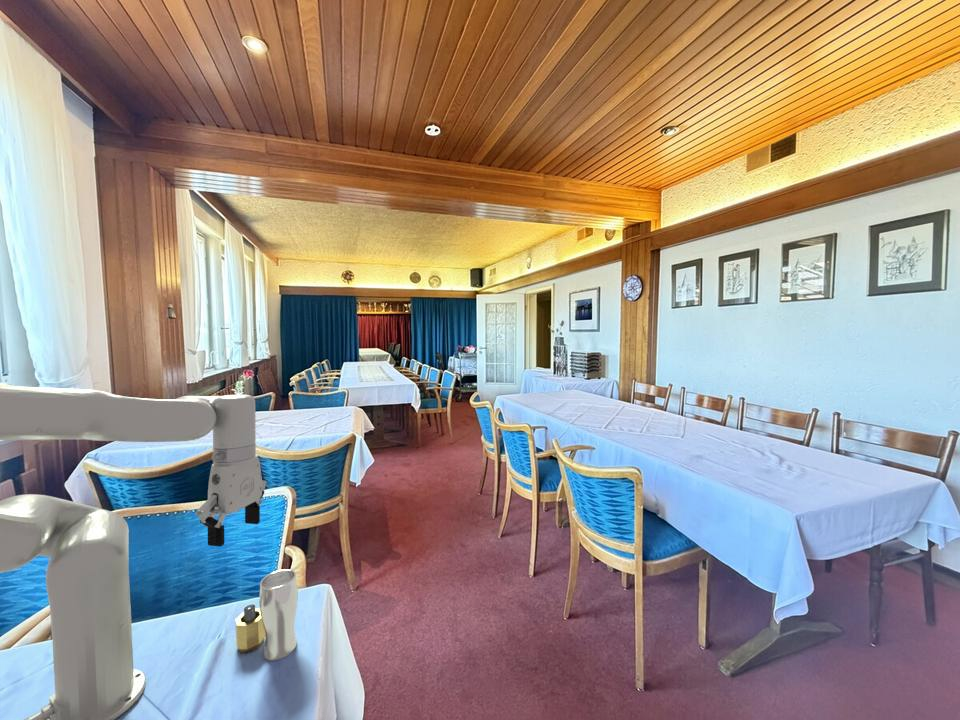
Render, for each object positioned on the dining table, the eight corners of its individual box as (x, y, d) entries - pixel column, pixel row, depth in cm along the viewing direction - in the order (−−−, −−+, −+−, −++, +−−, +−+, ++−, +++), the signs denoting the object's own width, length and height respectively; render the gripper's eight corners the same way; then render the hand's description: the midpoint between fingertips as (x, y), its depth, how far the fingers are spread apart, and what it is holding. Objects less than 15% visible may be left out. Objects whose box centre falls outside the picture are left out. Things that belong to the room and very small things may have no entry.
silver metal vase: (305, 636, 81) (303, 569, 80) (286, 664, 74) (283, 590, 74) (275, 634, 82) (273, 567, 81) (253, 661, 75) (250, 588, 74)
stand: (245, 656, 76) (243, 618, 76) (233, 647, 78) (232, 610, 78) (267, 641, 80) (266, 604, 80) (255, 633, 82) (254, 597, 82)
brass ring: (231, 648, 77) (230, 624, 77) (248, 629, 82) (247, 607, 82) (253, 650, 76) (253, 626, 76) (269, 631, 81) (269, 609, 81)
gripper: (216, 466, 70) (216, 557, 70) (278, 444, 87) (279, 517, 87) (181, 464, 71) (181, 553, 71) (249, 443, 88) (250, 515, 88)
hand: (235, 533), depth 79 cm, fingers open, 9 cm apart
